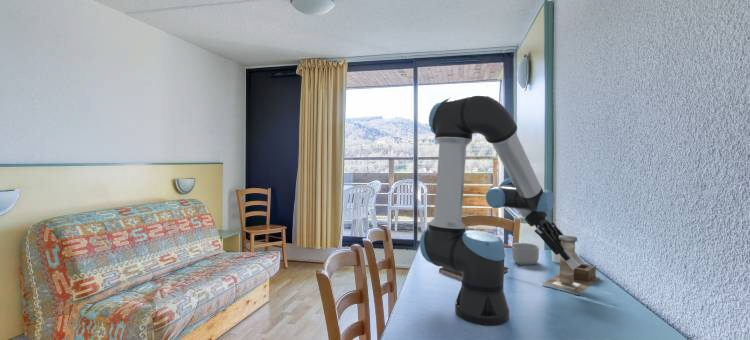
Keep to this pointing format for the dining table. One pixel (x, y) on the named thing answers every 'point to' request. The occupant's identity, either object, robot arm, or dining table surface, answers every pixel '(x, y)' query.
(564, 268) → the capped plug
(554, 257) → the short white cylinder
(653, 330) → the dining table surface
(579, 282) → the socket board
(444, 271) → the hardcover book
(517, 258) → the teacup
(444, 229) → the robot arm
